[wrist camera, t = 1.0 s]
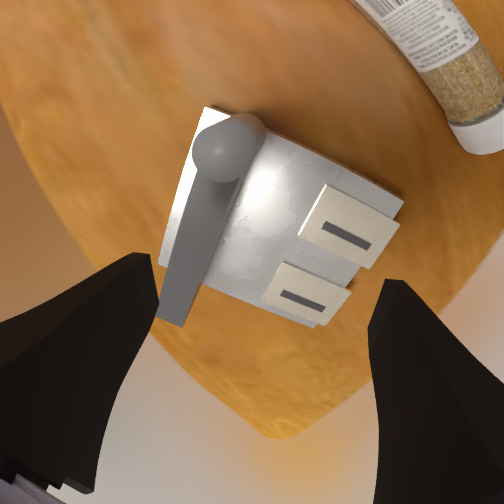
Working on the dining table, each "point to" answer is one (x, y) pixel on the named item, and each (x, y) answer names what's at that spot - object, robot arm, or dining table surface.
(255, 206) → the chassis plate
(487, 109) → the sprinkles bottle
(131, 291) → the robot arm
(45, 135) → the dining table surface
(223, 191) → the grey knobbed handle
